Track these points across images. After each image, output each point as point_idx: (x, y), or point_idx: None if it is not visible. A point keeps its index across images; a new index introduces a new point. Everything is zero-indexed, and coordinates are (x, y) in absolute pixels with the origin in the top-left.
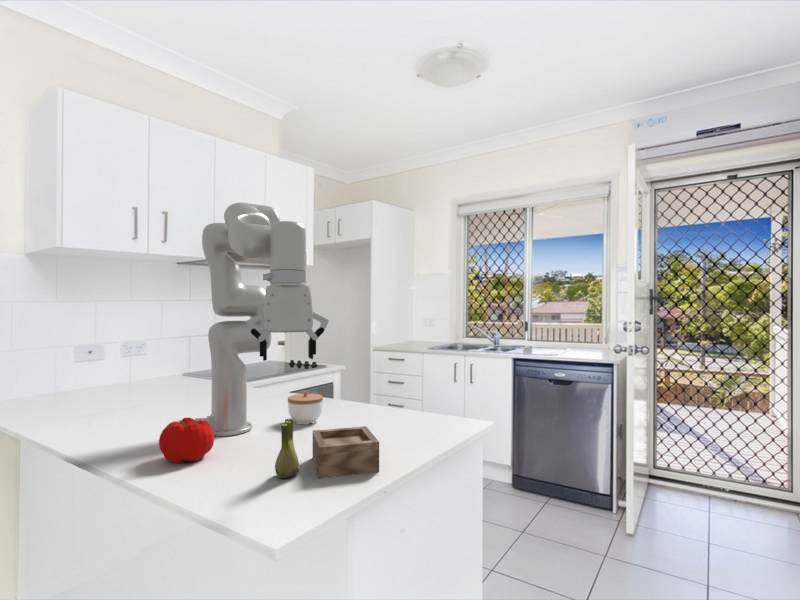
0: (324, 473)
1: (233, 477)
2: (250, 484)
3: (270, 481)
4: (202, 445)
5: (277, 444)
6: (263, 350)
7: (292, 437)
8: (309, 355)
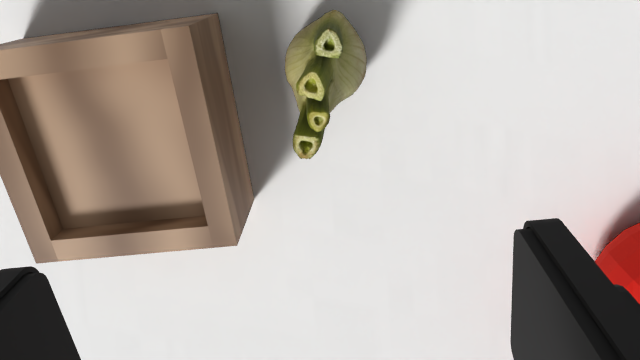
0: (197, 16)
1: (498, 75)
2: (440, 3)
3: (377, 17)
4: (629, 250)
5: (373, 334)
6: (608, 281)
7: (301, 108)
8: (40, 316)
